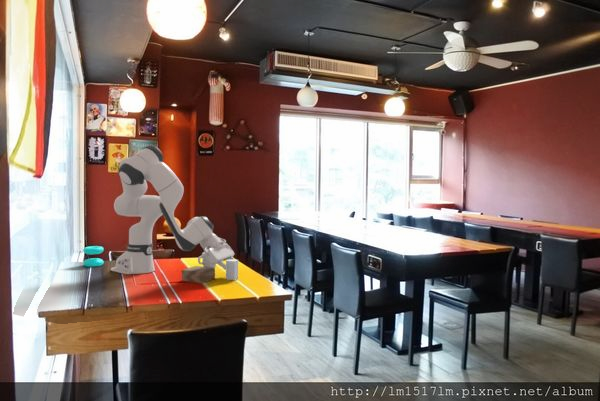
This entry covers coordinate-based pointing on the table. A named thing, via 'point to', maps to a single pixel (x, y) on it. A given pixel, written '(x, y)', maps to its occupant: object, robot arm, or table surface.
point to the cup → (205, 261)
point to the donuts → (93, 261)
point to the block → (232, 269)
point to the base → (198, 274)
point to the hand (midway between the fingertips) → (230, 266)
